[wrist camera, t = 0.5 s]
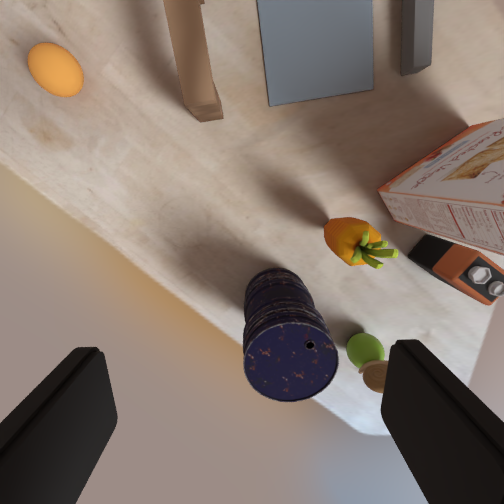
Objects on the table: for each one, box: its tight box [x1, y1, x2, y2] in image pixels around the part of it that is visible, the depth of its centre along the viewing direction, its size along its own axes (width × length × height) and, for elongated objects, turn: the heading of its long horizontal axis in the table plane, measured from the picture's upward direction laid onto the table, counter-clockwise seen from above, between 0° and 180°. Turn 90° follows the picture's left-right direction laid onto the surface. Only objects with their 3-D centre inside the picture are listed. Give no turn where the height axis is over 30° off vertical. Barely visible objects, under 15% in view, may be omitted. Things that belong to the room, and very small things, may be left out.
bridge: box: [163, 0, 224, 122], centre depth 27 cm, size 3×14×9 cm, turn 9°
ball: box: [28, 43, 84, 97], centre depth 29 cm, size 5×5×5 cm
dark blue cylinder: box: [243, 268, 339, 402], centre depth 33 cm, size 10×10×15 cm
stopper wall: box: [401, 0, 434, 76], centre depth 29 cm, size 11×2×2 cm, turn 9°
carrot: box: [324, 217, 398, 269], centre depth 30 cm, size 5×5×15 cm
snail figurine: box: [346, 333, 388, 393], centre depth 37 cm, size 5×6×12 cm
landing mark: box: [257, 0, 373, 106], centre depth 30 cm, size 13×13×1 cm
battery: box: [408, 235, 504, 305], centre depth 34 cm, size 4×7×10 cm, turn 56°
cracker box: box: [377, 118, 504, 256], centre depth 25 cm, size 14×6×21 cm, turn 126°
